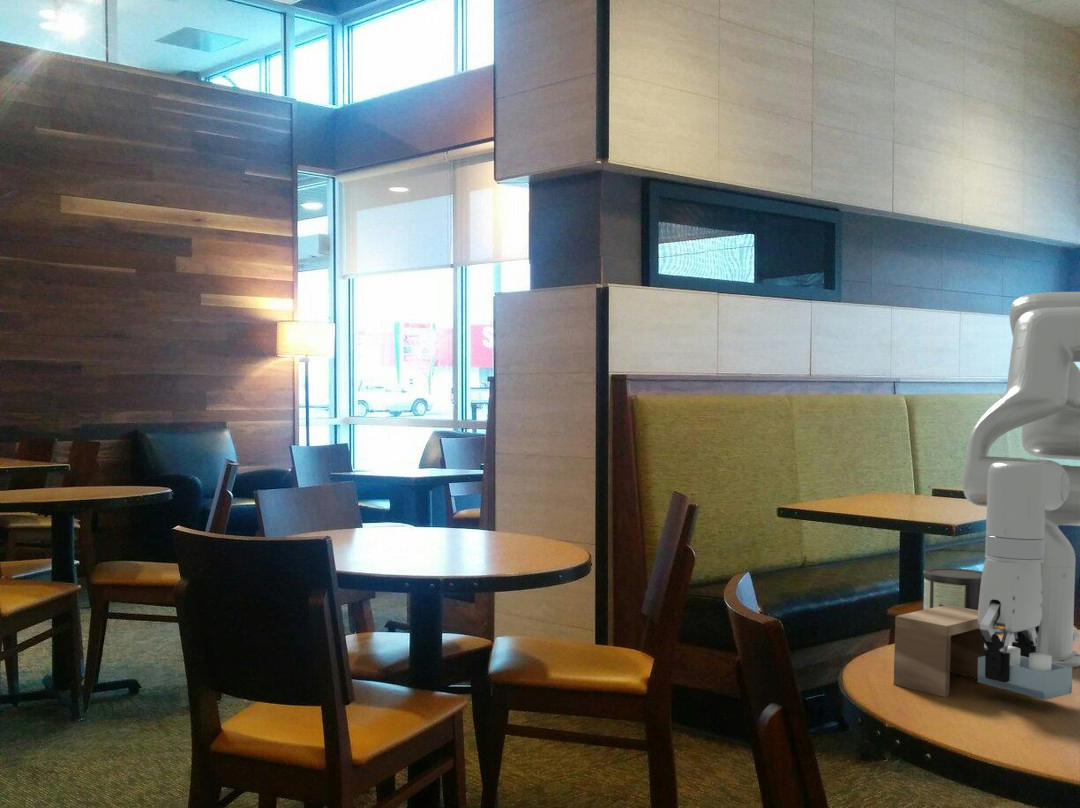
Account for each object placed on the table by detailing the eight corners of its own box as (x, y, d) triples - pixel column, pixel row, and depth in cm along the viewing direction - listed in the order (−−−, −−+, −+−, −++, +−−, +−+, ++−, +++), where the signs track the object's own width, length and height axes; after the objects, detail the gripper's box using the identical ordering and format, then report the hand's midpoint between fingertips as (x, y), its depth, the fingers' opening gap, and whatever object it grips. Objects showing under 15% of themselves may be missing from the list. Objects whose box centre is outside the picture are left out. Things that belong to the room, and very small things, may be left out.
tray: (1004, 676, 155) (1005, 641, 154) (1071, 693, 146) (1072, 656, 146) (977, 681, 151) (978, 646, 151) (1044, 700, 143) (1045, 662, 143)
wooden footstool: (944, 669, 166) (946, 604, 166) (995, 680, 160) (997, 613, 160) (893, 684, 156) (895, 616, 156) (944, 697, 150) (946, 626, 150)
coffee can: (982, 654, 176) (985, 569, 175) (996, 670, 166) (998, 579, 165) (916, 650, 178) (919, 565, 178) (926, 665, 168) (928, 576, 167)
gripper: (1017, 542, 159) (1013, 662, 159) (957, 550, 147) (953, 679, 148) (1069, 548, 153) (1065, 673, 153) (1011, 557, 142) (1006, 691, 142)
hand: (1010, 675), depth 150 cm, fingers closed on tray, 7 cm apart
